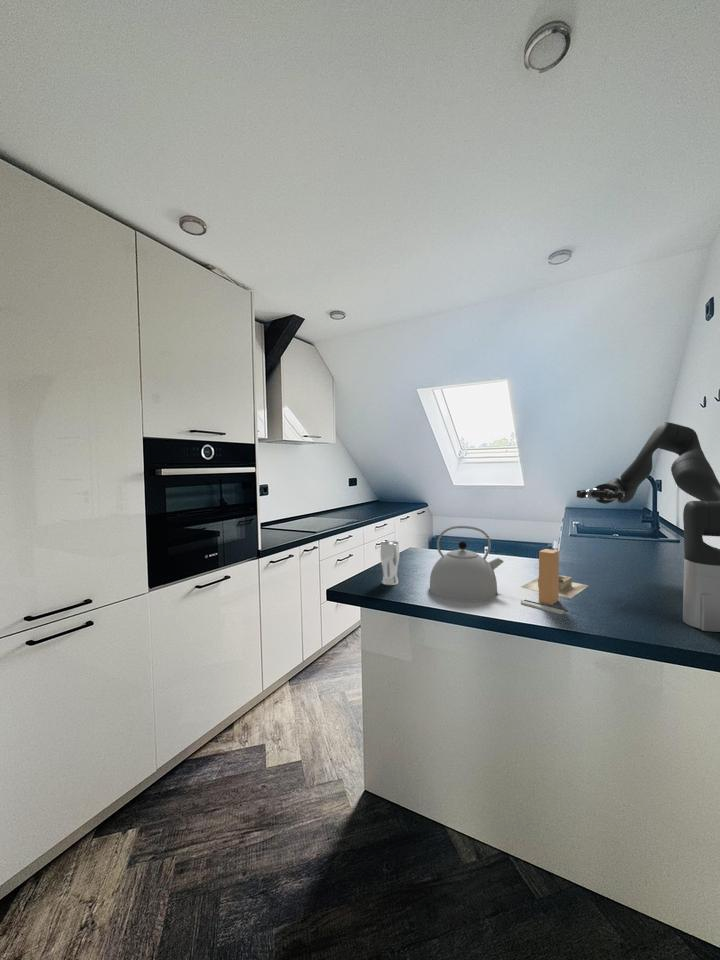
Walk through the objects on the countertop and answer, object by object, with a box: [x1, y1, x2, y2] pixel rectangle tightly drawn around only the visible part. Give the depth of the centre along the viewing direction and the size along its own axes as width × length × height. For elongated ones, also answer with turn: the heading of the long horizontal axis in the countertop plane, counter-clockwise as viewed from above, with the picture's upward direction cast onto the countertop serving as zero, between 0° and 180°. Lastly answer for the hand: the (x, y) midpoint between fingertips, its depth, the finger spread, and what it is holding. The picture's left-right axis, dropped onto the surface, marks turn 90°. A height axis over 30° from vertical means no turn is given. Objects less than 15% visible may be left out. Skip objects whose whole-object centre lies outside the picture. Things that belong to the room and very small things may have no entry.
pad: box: [520, 599, 568, 616], centre depth 119 cm, size 12×12×1 cm
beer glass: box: [379, 540, 400, 586], centre depth 142 cm, size 7×7×15 cm
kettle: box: [429, 525, 505, 603], centre depth 132 cm, size 25×23×22 cm
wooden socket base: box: [520, 574, 590, 599], centre depth 133 cm, size 16×18×5 cm
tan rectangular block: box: [538, 548, 560, 606], centre depth 119 cm, size 4×5×16 cm
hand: (594, 495), depth 135 cm, fingers open, 8 cm apart
